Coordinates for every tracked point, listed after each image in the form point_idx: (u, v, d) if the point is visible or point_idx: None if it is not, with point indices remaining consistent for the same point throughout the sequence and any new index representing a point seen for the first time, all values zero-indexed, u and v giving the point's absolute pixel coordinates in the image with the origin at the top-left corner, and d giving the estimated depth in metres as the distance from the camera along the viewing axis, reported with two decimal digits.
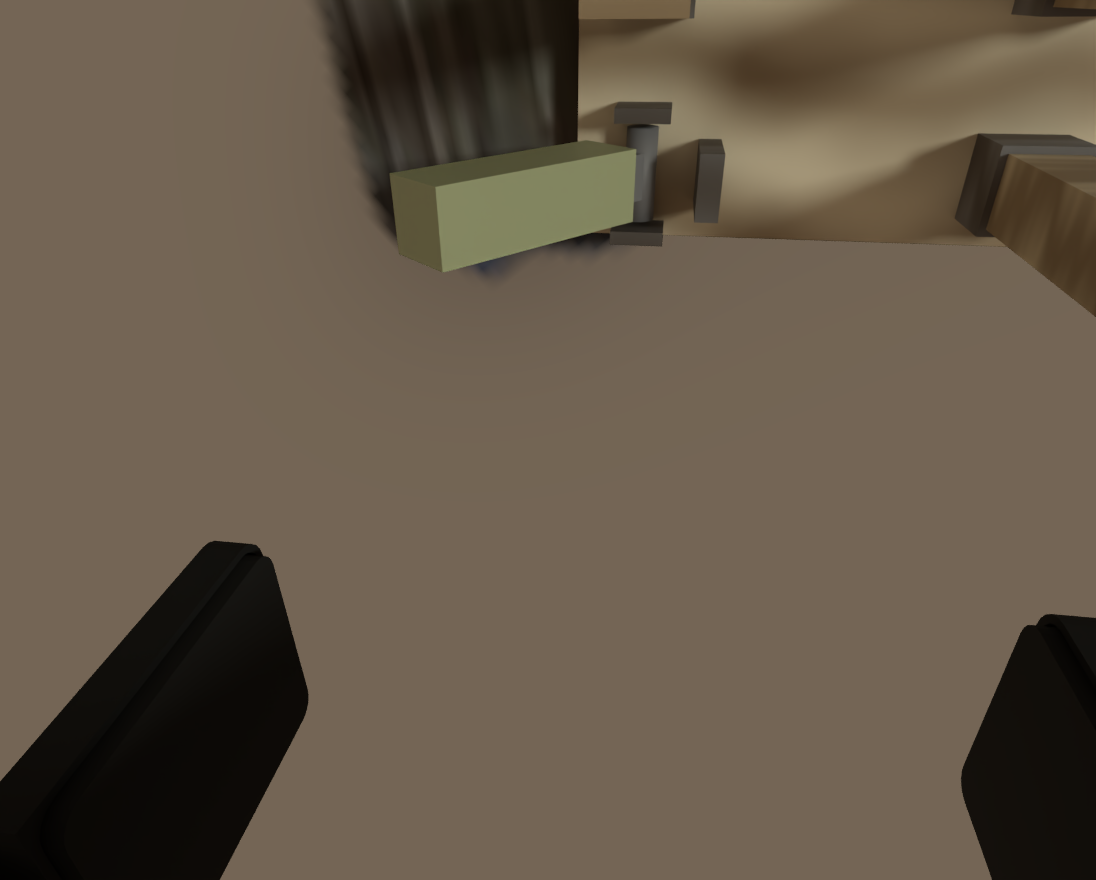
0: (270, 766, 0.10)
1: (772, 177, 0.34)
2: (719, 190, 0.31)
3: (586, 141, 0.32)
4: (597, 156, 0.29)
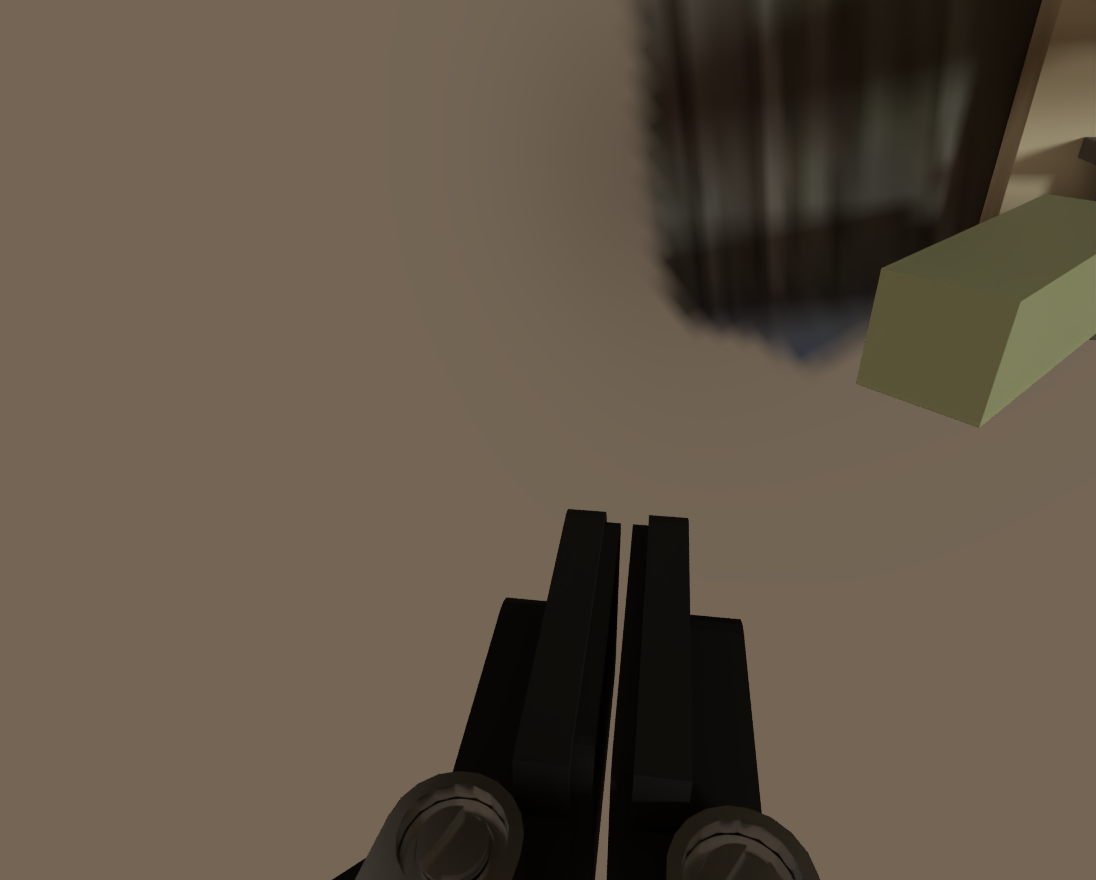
0: (608, 726, 0.10)
1: None
2: None
3: (1051, 196, 0.22)
4: None
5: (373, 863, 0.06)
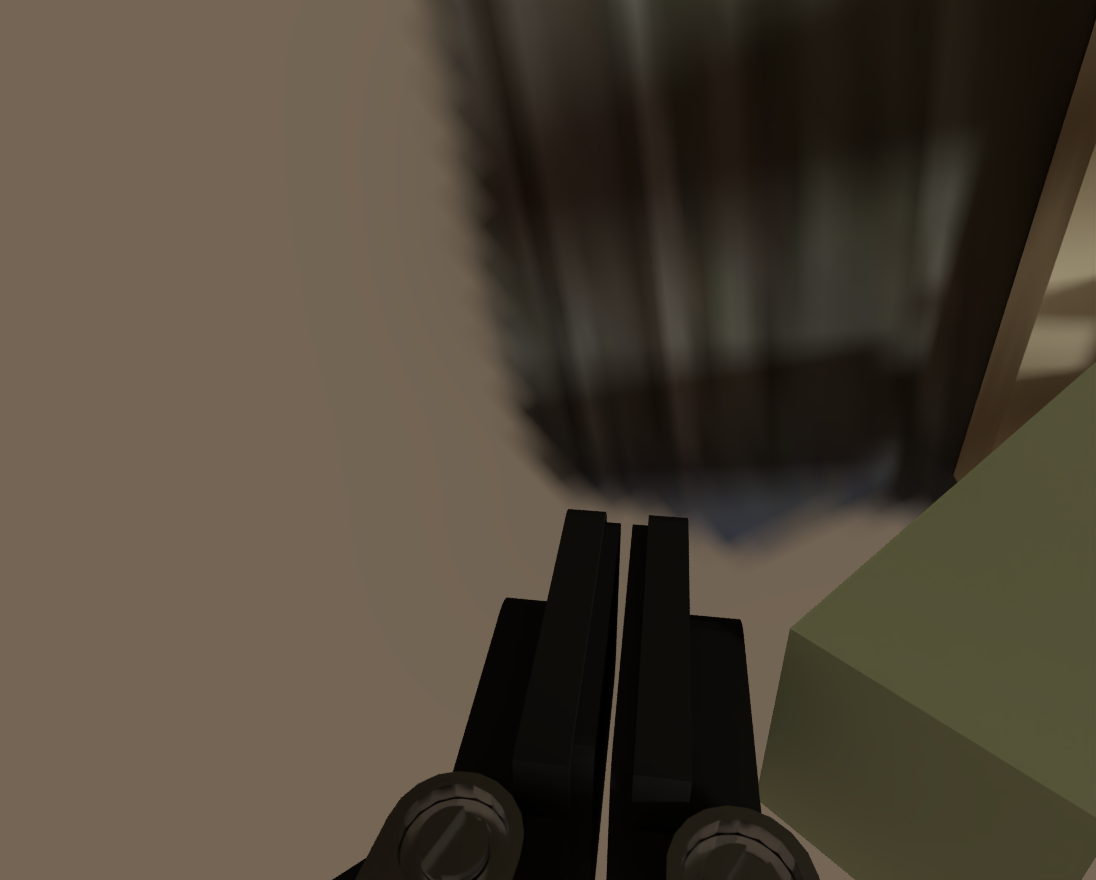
0: (608, 726, 0.10)
1: None
2: None
3: None
4: None
5: (373, 863, 0.06)
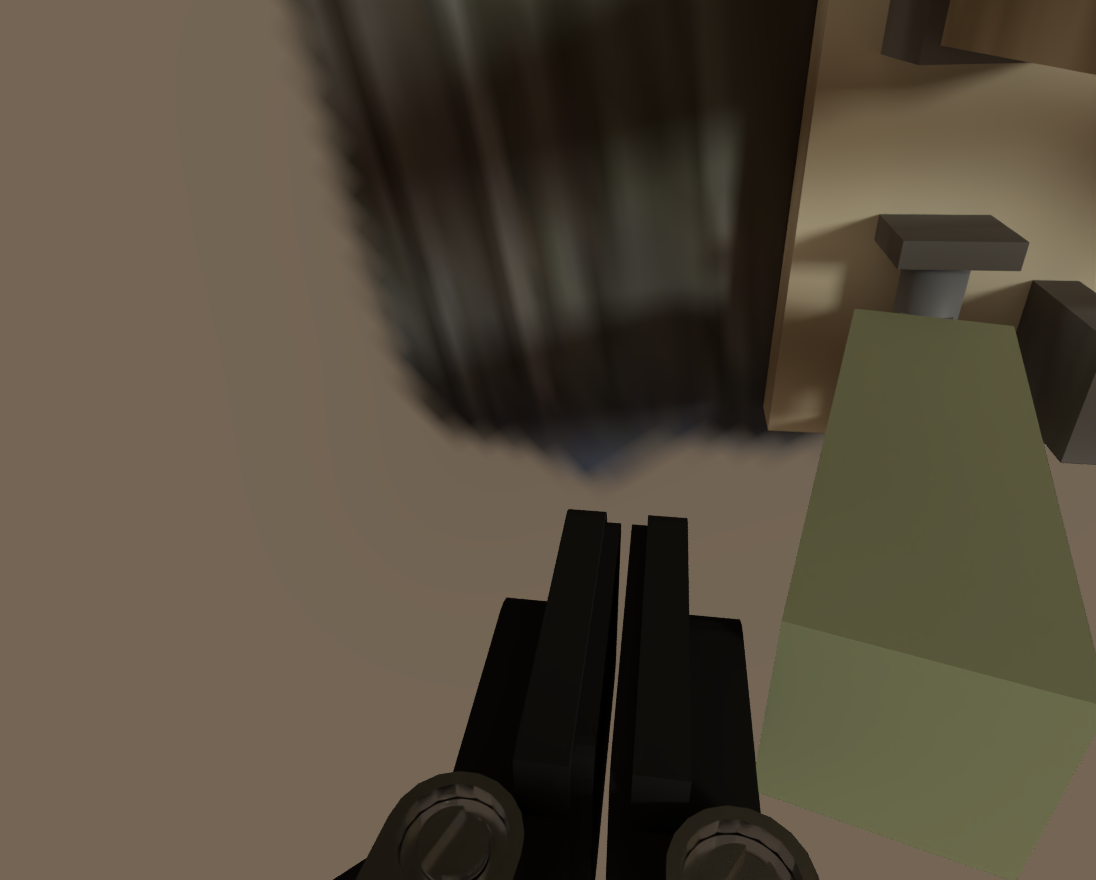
0: (609, 725, 0.10)
1: None
2: None
3: (865, 313, 0.16)
4: (1022, 371, 0.13)
5: (374, 863, 0.06)
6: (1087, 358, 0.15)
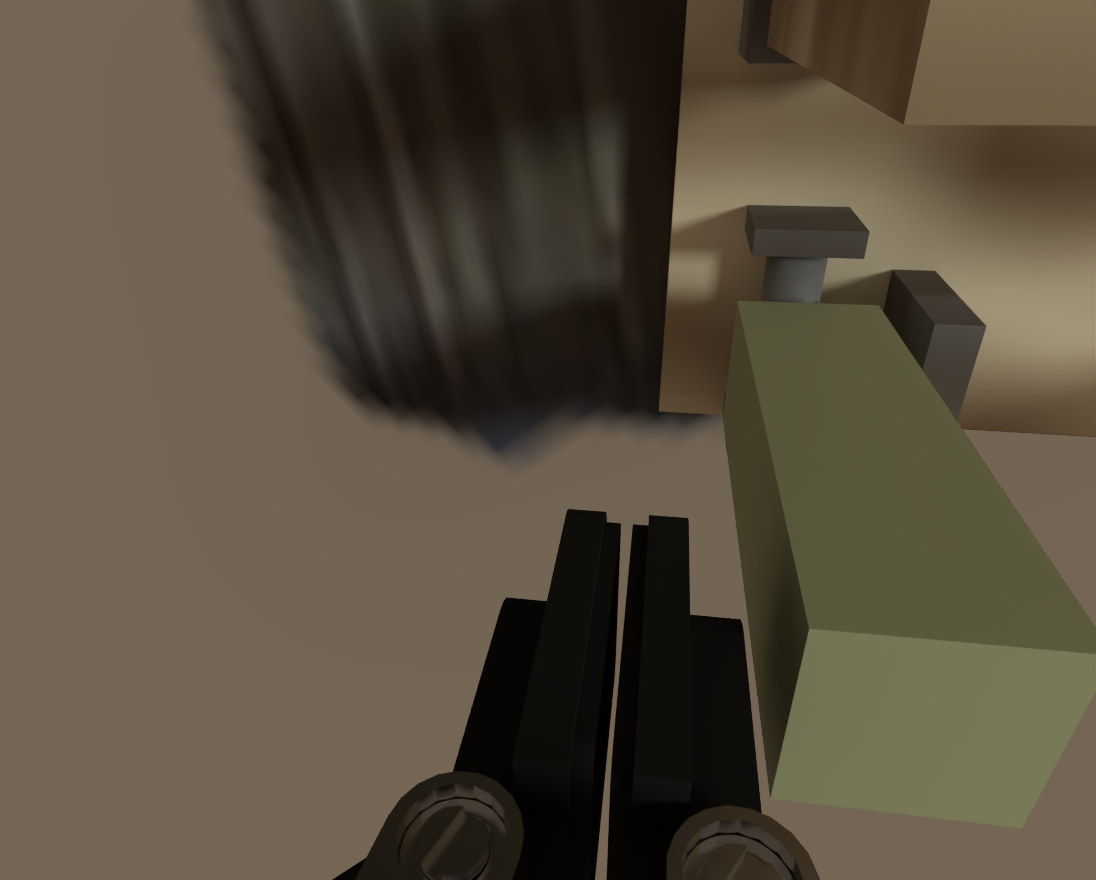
0: (608, 726, 0.10)
1: (1022, 335, 0.19)
2: (963, 388, 0.16)
3: (748, 304, 0.16)
4: (903, 346, 0.14)
5: (373, 863, 0.06)
6: (922, 341, 0.16)
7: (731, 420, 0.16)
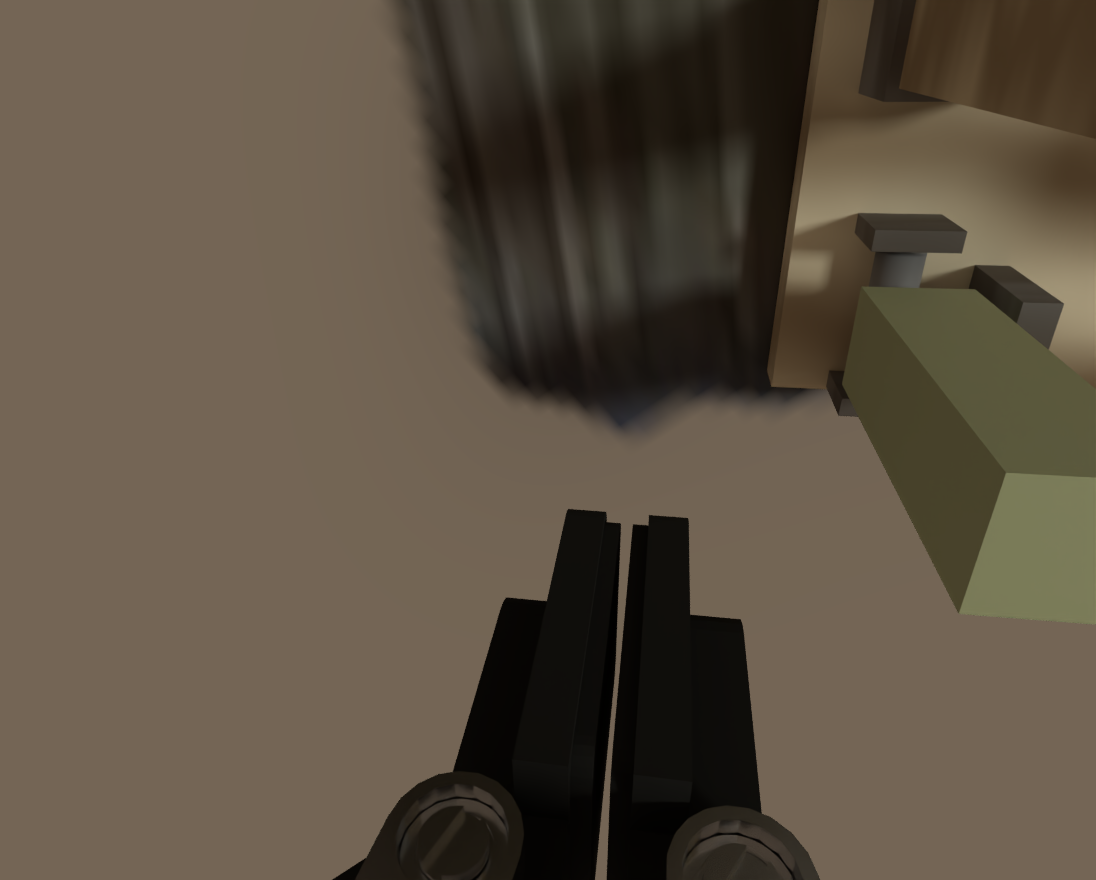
0: (608, 725, 0.10)
1: (1079, 318, 0.23)
2: None
3: (871, 289, 0.20)
4: (1006, 316, 0.18)
5: (373, 863, 0.06)
6: (1010, 317, 0.20)
7: (859, 380, 0.20)
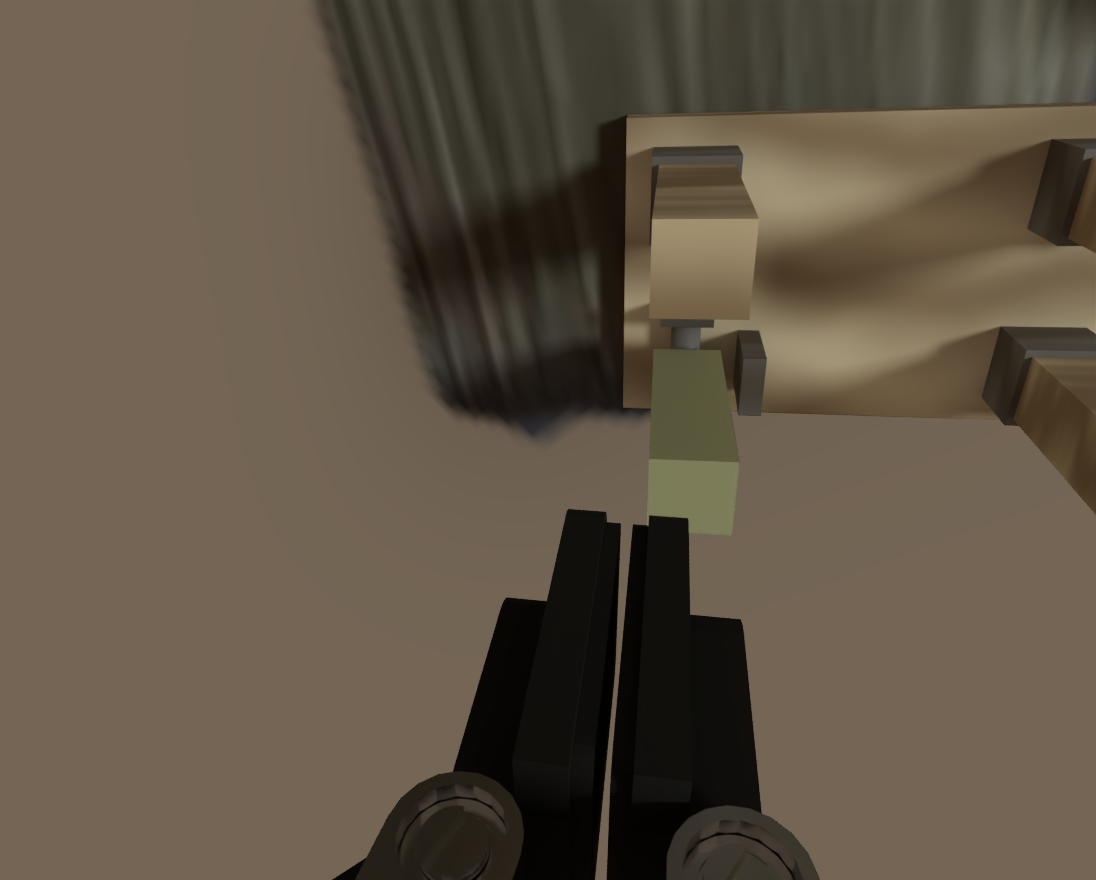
0: (608, 726, 0.10)
1: (807, 362, 0.36)
2: (761, 388, 0.33)
3: (658, 350, 0.33)
4: (722, 369, 0.31)
5: (373, 863, 0.06)
6: (741, 366, 0.33)
7: None
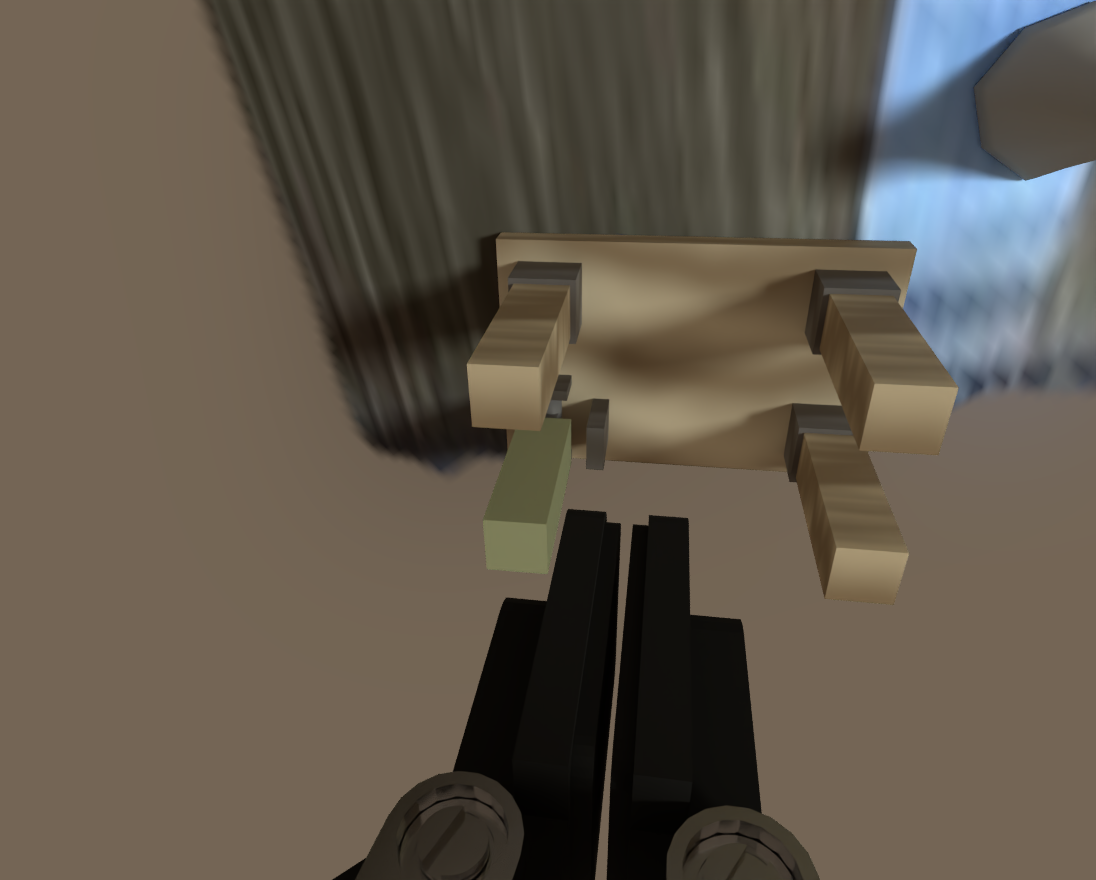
0: (609, 725, 0.10)
1: (648, 424, 0.45)
2: (602, 450, 0.42)
3: None
4: (565, 438, 0.41)
5: (373, 863, 0.06)
6: None
7: None
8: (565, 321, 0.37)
